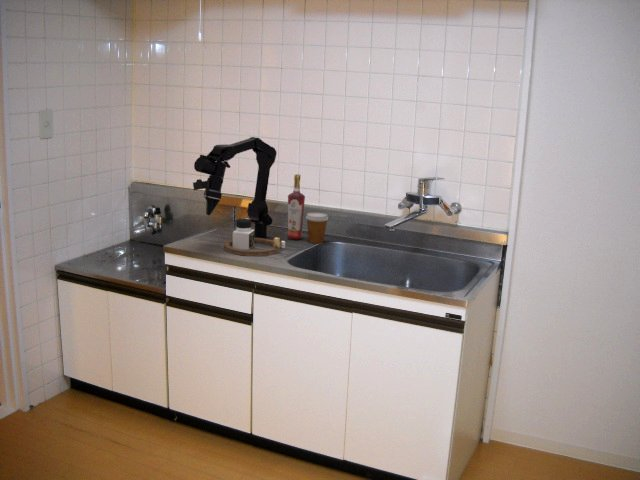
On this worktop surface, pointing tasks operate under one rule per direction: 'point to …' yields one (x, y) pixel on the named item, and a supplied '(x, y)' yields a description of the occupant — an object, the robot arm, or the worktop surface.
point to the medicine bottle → (243, 234)
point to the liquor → (295, 211)
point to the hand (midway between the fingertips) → (207, 214)
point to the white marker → (283, 244)
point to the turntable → (255, 253)
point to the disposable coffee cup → (316, 227)
